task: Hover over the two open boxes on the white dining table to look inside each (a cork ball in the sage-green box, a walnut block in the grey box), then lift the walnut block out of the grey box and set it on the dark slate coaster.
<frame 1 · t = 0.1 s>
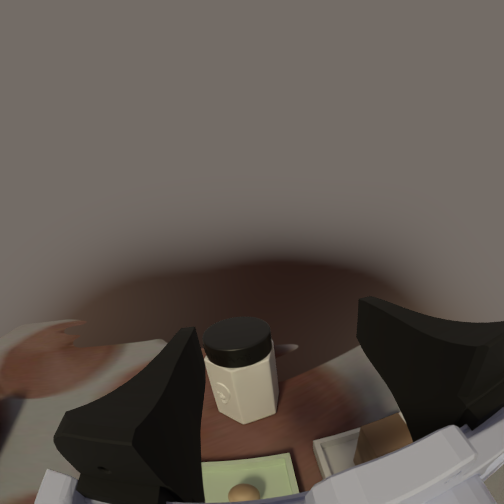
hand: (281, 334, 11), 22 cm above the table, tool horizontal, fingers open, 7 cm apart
grey box: (375, 469, 19), on the table
walnut block: (376, 467, 19), resting on grey box
cork ball: (246, 501, 18), resting on green box
jar: (249, 403, 34), on the table
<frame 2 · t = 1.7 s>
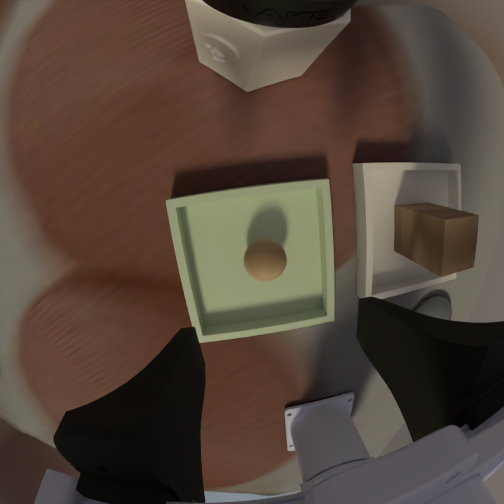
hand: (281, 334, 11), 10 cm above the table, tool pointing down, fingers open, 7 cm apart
grey box: (409, 225, 22), on the table
walnut block: (411, 226, 21), resting on grey box
cork ball: (262, 253, 21), resting on green box
green box: (256, 259, 21), on the table
slate coaster: (427, 323, 25), on the table
jar: (254, 44, 17), on the table
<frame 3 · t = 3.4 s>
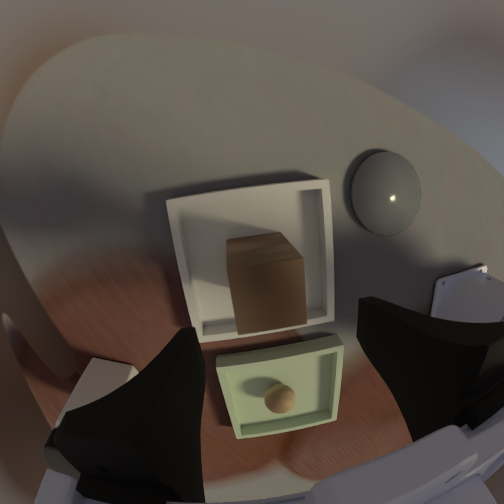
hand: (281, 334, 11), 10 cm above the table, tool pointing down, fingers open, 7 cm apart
grey box: (256, 259, 21), on the table
walnut block: (256, 261, 21), resting on grey box
cork ball: (277, 388, 25), resting on green box
green box: (282, 388, 25), on the table
slate coaster: (386, 193, 21), on the table
jar: (119, 386, 24), on the table
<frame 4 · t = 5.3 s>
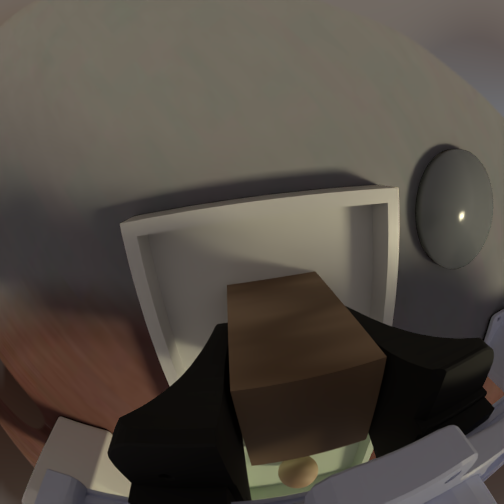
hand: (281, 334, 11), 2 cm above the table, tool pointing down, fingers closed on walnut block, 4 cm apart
grey box: (274, 313, 13), on the table
walnut block: (275, 317, 13), resting on grey box, touching gripper
cork ball: (294, 456, 17), resting on green box
green box: (299, 454, 17), on the table
slate coaster: (456, 208, 13), on the table
jar: (96, 446, 16), on the table
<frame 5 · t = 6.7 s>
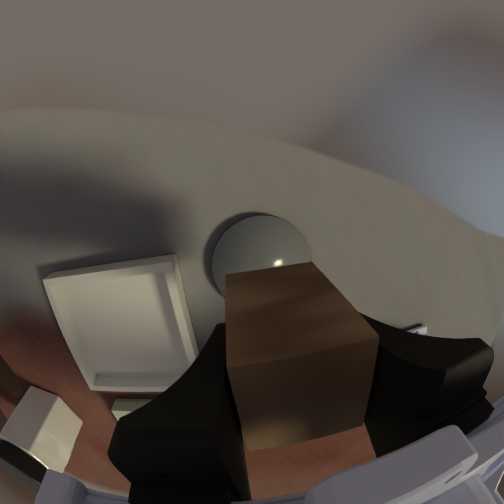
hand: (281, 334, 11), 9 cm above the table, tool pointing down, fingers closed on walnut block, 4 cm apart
grey box: (126, 328, 20), on the table
walnut block: (273, 306, 13), point 7 cm above the table, touching gripper
green box: (181, 431, 24), on the table
slate coaster: (261, 263, 20), on the table
jar: (54, 409, 23), on the table
when the fingers open (3 cm above the table, at t = 8.3 s): walnut block stays where it is, resting on slate coaster.
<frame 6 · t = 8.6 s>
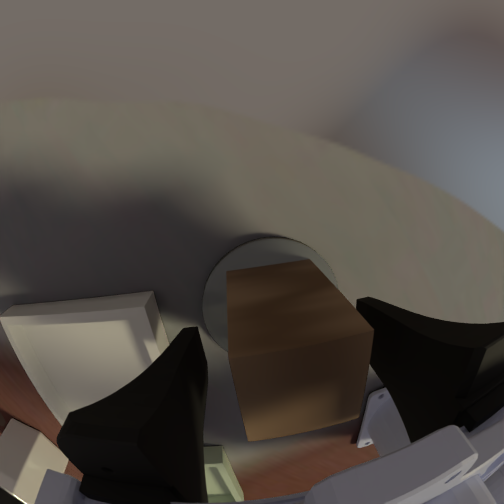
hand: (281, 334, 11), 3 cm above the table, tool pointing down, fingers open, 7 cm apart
grey box: (101, 375, 15), on the table
walnut block: (272, 302, 14), point 1 cm above the table, touching slate coaster
green box: (176, 475, 19), on the table
slate coaster: (271, 303, 14), on the table
jar: (39, 442, 18), on the table
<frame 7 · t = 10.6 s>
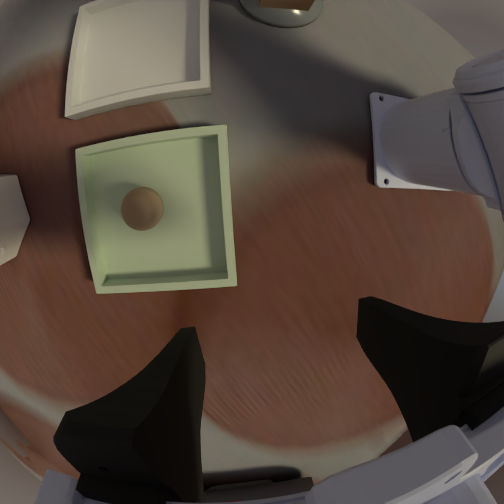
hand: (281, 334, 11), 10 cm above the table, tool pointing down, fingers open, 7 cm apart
grey box: (139, 44, 16), on the table
cork ball: (148, 206, 19), resting on green box
green box: (156, 211, 20), on the table
bluetooth speaker: (240, 484, 32), on the table
jar: (4, 213, 18), on the table
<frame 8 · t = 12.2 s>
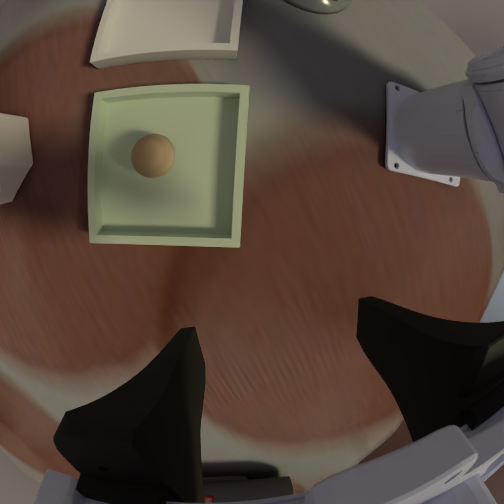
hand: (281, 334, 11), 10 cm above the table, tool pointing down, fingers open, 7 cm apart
grey box: (173, 7, 15), on the table
cork ball: (158, 156, 18), resting on green box
green box: (165, 163, 19), on the table
bluetooth speaker: (213, 479, 31), on the table
jar: (7, 157, 17), on the table
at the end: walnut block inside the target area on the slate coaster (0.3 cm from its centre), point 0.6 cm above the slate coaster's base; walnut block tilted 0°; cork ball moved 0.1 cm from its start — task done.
